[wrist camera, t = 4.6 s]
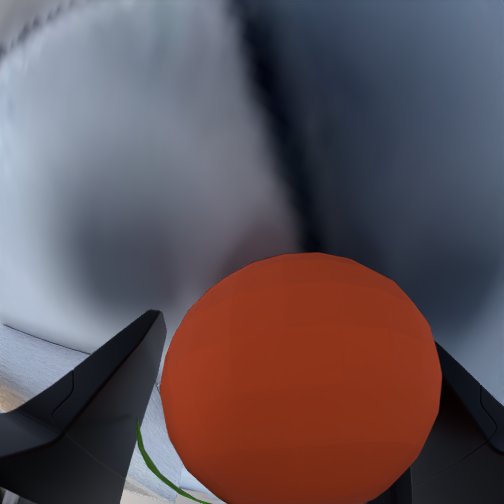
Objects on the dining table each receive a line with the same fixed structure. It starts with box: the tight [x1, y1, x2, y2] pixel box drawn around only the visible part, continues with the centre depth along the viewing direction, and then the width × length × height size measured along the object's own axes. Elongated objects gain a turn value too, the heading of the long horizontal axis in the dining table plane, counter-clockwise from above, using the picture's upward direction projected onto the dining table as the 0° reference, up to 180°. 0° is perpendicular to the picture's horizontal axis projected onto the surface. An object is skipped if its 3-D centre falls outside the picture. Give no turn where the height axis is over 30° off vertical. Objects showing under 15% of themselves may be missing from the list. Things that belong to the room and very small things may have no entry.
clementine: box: [136, 252, 442, 504], centre depth 6 cm, size 8×7×7 cm
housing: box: [0, 325, 183, 504], centre depth 13 cm, size 12×12×6 cm
